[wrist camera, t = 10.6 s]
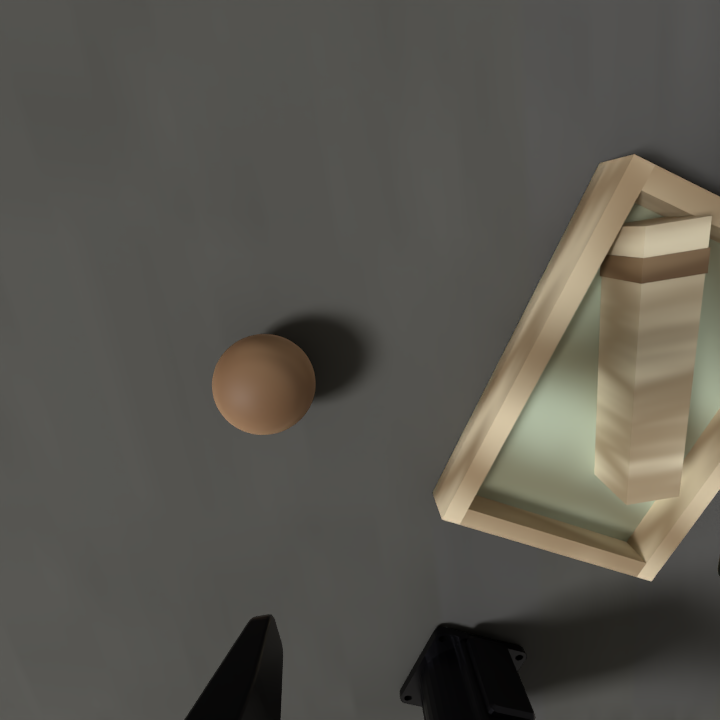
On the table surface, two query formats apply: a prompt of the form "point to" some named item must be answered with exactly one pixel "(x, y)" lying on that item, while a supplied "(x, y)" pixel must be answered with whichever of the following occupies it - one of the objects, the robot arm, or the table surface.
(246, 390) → the bead
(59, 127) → the table surface
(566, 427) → the tray
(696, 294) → the tall beige post
